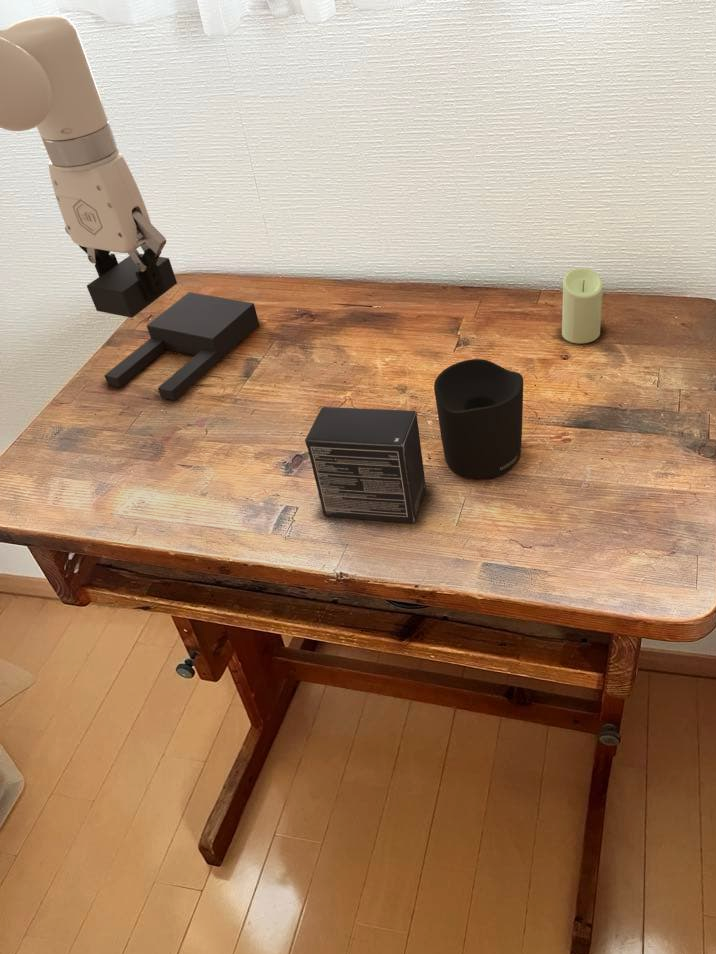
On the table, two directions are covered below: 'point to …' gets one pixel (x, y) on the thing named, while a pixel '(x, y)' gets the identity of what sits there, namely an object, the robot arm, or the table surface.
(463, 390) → the pen holder
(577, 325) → the candle
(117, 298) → the black block
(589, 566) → the table surface
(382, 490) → the small box
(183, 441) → the table surface
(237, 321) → the base pad
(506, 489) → the table surface
